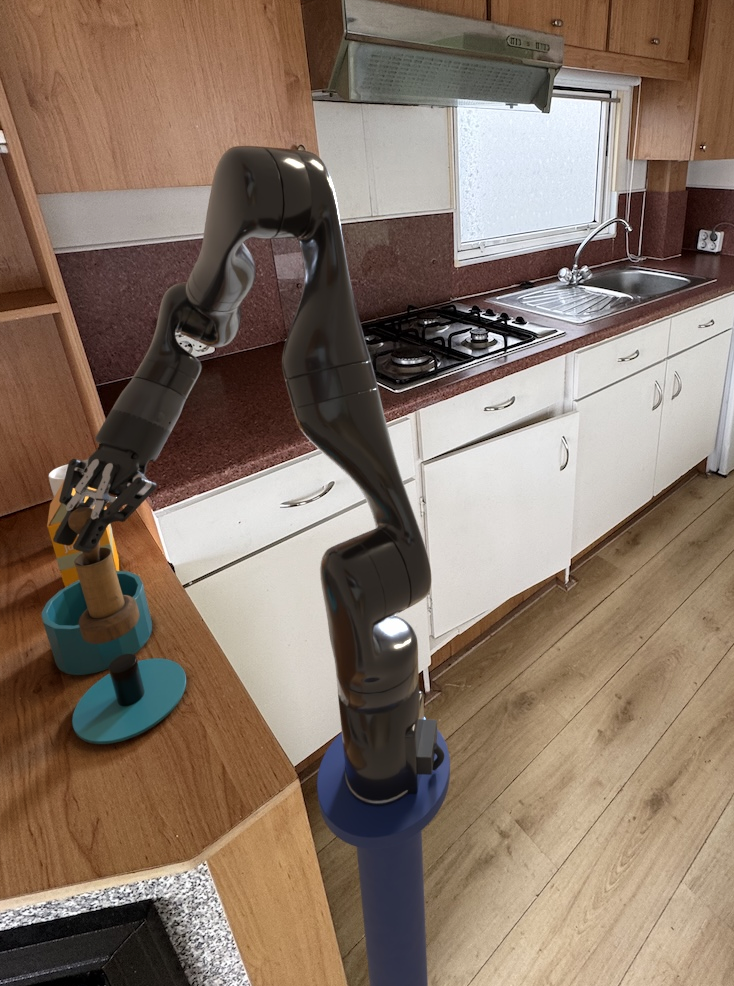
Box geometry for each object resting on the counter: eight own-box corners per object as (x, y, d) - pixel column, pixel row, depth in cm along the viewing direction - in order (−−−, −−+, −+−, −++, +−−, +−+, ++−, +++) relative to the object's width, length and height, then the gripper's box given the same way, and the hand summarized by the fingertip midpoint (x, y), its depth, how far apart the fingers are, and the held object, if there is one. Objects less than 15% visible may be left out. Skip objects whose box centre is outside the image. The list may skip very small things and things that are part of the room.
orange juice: (119, 557, 110) (96, 464, 103) (120, 584, 103) (96, 485, 96) (68, 572, 106) (41, 475, 99) (66, 600, 99) (37, 498, 92)
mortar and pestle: (91, 613, 79) (59, 500, 73) (144, 603, 81) (118, 492, 75) (75, 649, 73) (39, 529, 67) (133, 637, 75) (103, 520, 69)
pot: (140, 602, 99) (131, 560, 96) (161, 644, 90) (151, 600, 87) (49, 640, 90) (36, 595, 88) (63, 690, 82) (48, 643, 79)
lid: (171, 649, 89) (163, 612, 87) (200, 705, 80) (191, 665, 78) (66, 699, 80) (53, 659, 78) (84, 768, 71) (71, 726, 69)
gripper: (201, 438, 78) (136, 567, 72) (128, 421, 83) (60, 539, 76) (159, 417, 72) (83, 556, 65) (82, 399, 76) (4, 527, 70)
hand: (71, 546), depth 71 cm, fingers closed on mortar and pestle, 3 cm apart
